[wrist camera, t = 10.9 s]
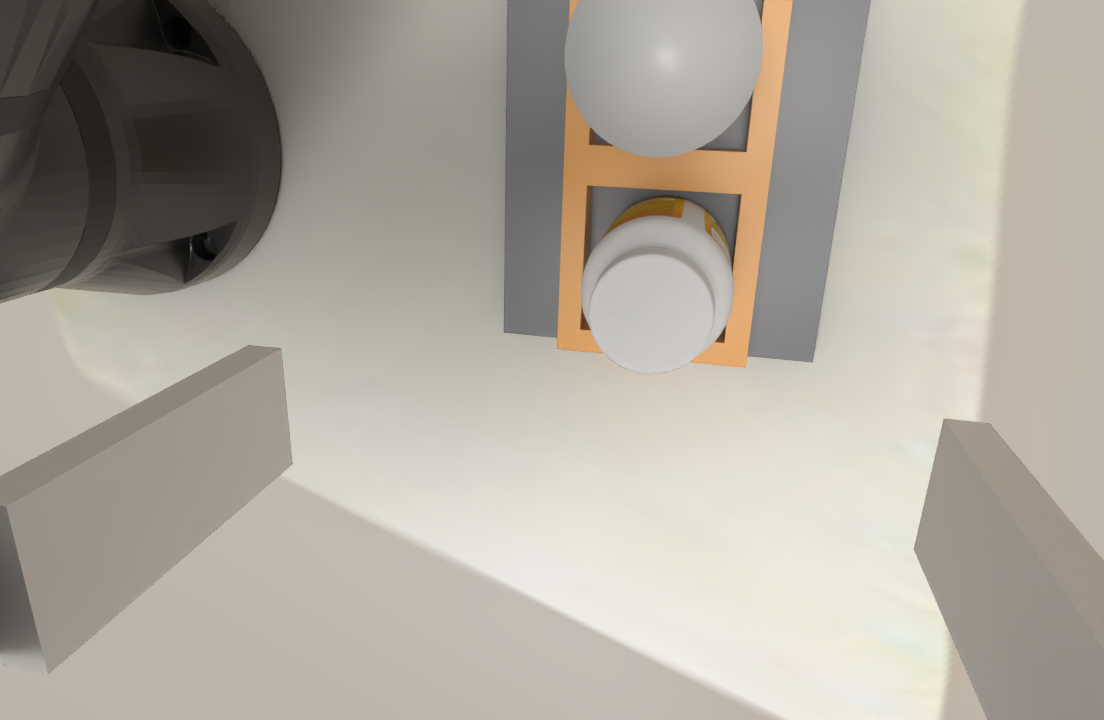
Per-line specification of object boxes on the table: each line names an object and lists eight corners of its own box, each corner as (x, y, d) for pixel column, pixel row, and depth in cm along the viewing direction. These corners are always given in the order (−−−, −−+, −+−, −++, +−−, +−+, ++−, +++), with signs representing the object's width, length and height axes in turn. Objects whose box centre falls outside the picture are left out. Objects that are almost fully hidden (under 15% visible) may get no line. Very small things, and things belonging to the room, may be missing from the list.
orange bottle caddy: (510, 325, 36) (448, 392, 28) (515, -44, 31) (440, -96, 23) (809, 353, 34) (838, 436, 25) (872, -44, 28) (934, -103, 20)
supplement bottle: (582, 280, 33) (537, 346, 24) (640, 170, 31) (614, 199, 22) (688, 337, 33) (682, 425, 24) (753, 231, 31) (772, 284, 22)
